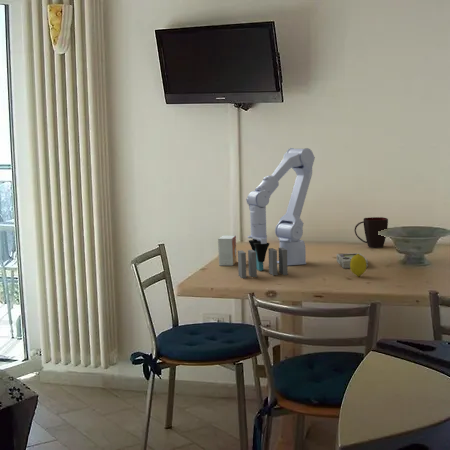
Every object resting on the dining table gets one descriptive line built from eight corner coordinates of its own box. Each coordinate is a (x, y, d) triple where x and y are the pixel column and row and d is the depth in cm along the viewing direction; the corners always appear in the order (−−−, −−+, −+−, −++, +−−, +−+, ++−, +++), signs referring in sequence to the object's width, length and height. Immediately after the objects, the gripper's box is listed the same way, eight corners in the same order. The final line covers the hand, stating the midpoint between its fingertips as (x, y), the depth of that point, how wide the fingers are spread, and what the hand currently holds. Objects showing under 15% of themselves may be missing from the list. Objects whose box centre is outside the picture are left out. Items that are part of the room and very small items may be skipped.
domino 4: (283, 272, 247) (282, 247, 246) (287, 274, 242) (287, 249, 241) (279, 272, 247) (278, 247, 245) (283, 275, 242) (282, 250, 240)
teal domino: (259, 268, 255) (259, 244, 254) (263, 270, 250) (262, 246, 249) (255, 268, 255) (255, 244, 254) (259, 270, 250) (258, 246, 249)
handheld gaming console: (343, 260, 249) (336, 252, 263) (343, 269, 249) (336, 261, 264) (368, 259, 249) (360, 252, 263) (368, 269, 249) (360, 261, 264)
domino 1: (242, 275, 244) (242, 250, 242) (246, 278, 239) (245, 252, 238) (238, 275, 243) (237, 250, 242) (241, 278, 239) (241, 253, 237)
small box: (233, 265, 261) (232, 238, 259) (218, 265, 262) (217, 238, 261) (236, 261, 269) (236, 235, 267) (222, 261, 270) (222, 235, 268)
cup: (390, 248, 286) (390, 220, 284) (356, 249, 286) (356, 221, 284) (384, 244, 296) (384, 216, 294) (352, 245, 296) (352, 218, 294)
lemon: (357, 279, 232) (356, 255, 231) (346, 276, 237) (346, 253, 236) (369, 277, 234) (369, 254, 233) (359, 274, 239) (359, 251, 238)
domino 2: (253, 274, 244) (252, 249, 243) (256, 277, 240) (256, 252, 238) (248, 274, 244) (248, 249, 243) (252, 277, 239) (251, 252, 238)
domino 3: (273, 272, 246) (272, 248, 245) (277, 275, 241) (276, 250, 240) (269, 273, 246) (268, 248, 244) (273, 276, 241) (272, 250, 240)
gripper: (242, 221, 256) (243, 257, 258) (252, 227, 242) (253, 264, 244) (261, 220, 258) (261, 256, 260) (272, 225, 244) (272, 263, 246)
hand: (259, 260), depth 252 cm, fingers closed on teal domino, 5 cm apart
